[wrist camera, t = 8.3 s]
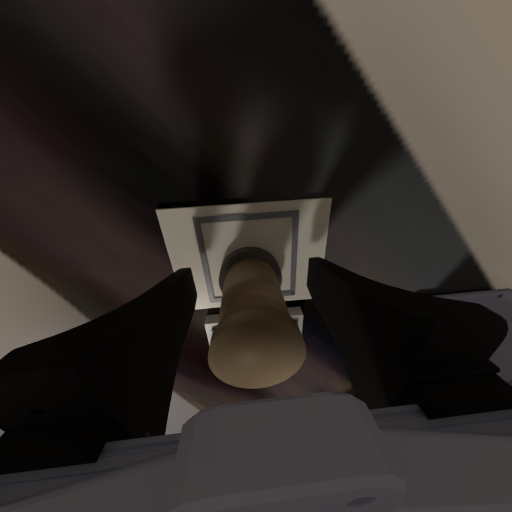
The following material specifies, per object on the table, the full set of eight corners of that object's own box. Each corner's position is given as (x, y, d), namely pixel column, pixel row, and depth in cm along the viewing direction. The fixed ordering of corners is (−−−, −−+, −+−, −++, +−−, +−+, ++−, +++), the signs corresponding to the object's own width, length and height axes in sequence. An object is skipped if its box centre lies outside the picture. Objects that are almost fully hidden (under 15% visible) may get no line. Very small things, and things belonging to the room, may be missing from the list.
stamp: (278, 243, 13) (314, 310, 7) (279, 295, 15) (308, 384, 9) (215, 249, 13) (192, 323, 6) (224, 300, 14) (212, 396, 8)
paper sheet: (329, 197, 12) (332, 198, 12) (317, 295, 16) (319, 298, 15) (157, 209, 11) (154, 210, 11) (185, 307, 15) (184, 311, 15)
